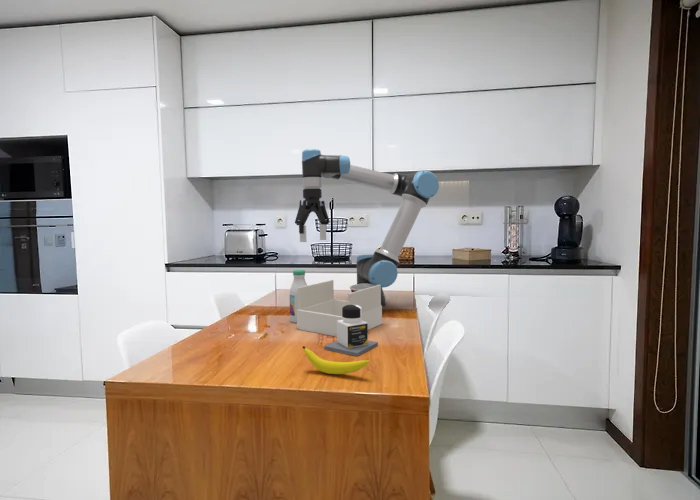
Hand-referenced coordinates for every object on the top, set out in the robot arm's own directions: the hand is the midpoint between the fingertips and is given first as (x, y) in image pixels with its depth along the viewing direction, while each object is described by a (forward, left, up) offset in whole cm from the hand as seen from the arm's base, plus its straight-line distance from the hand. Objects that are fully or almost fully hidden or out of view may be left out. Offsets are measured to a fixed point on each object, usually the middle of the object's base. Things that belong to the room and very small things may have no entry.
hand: (313, 241), depth 164 cm
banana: (+47, +45, -31) cm, 72 cm away
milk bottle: (+11, +1, -31) cm, 33 cm away
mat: (+27, +36, -31) cm, 54 cm away
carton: (+9, +19, -31) cm, 37 cm away
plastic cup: (-12, +16, -31) cm, 37 cm away
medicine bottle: (+26, +36, -30) cm, 54 cm away
